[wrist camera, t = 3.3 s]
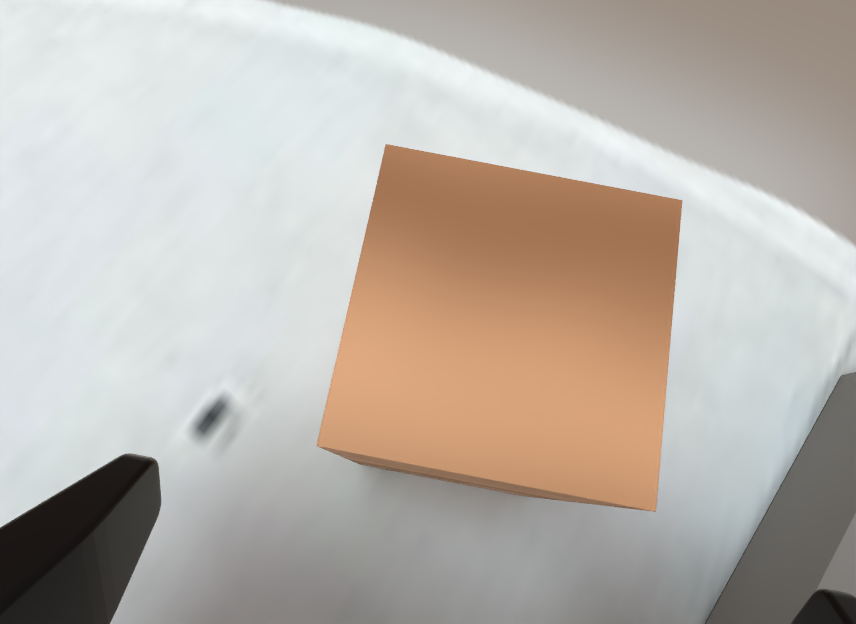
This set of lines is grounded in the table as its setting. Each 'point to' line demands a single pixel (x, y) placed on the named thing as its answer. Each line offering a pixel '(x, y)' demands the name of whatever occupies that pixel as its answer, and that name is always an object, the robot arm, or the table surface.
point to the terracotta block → (508, 332)
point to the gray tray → (803, 526)
